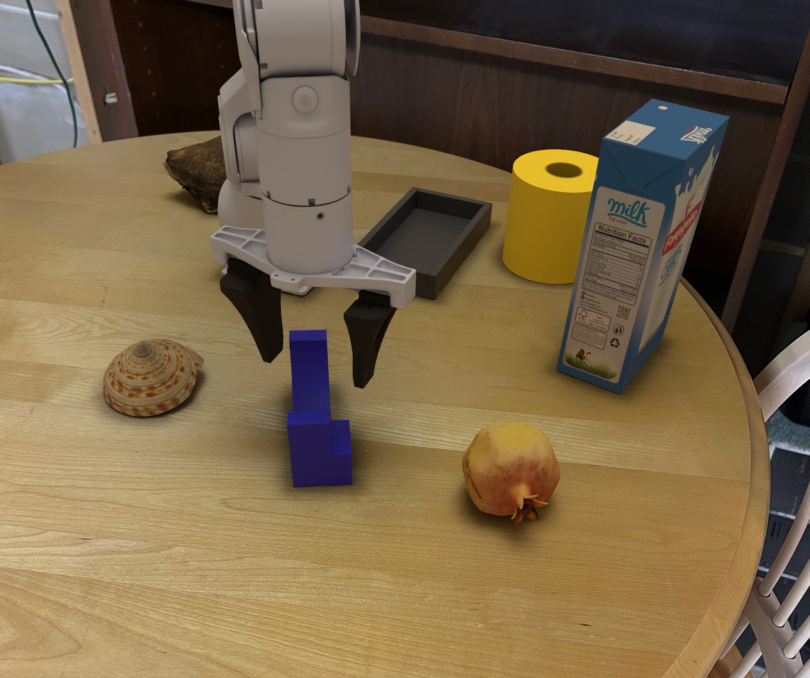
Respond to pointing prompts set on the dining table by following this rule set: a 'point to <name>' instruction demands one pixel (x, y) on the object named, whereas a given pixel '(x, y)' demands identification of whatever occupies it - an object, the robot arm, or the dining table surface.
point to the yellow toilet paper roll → (548, 214)
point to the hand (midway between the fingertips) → (317, 368)
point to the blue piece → (315, 417)
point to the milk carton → (637, 239)
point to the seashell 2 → (199, 171)
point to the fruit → (510, 469)
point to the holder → (429, 235)
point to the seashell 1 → (151, 377)
